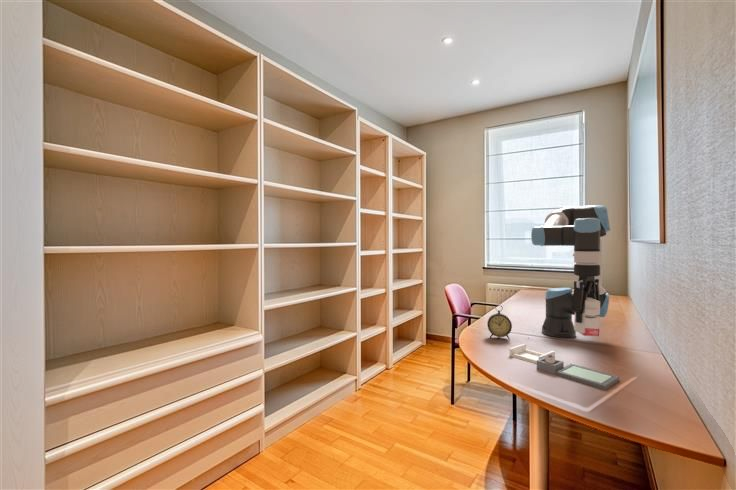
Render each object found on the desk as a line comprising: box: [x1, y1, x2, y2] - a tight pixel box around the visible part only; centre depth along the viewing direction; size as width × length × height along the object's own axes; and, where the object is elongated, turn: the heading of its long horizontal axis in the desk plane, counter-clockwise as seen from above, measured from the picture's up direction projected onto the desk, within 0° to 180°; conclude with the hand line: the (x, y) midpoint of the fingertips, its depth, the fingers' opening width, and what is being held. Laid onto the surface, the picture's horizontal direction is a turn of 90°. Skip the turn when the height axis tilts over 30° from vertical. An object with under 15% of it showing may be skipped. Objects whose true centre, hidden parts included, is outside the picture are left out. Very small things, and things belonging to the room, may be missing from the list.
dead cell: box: [545, 355, 556, 365], centre depth 124 cm, size 3×3×5 cm
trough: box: [509, 343, 556, 365], centre depth 136 cm, size 11×13×4 cm
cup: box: [536, 357, 565, 375], centre depth 124 cm, size 6×6×4 cm
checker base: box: [554, 363, 620, 391], centre depth 116 cm, size 12×15×2 cm
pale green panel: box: [562, 366, 612, 384], centre depth 116 cm, size 9×12×1 cm
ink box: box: [573, 297, 601, 337], centre depth 116 cm, size 9×5×12 cm, turn 169°
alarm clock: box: [486, 304, 513, 340], centre depth 167 cm, size 11×5×16 cm, turn 73°
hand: (586, 329), depth 116 cm, fingers closed on ink box, 9 cm apart
